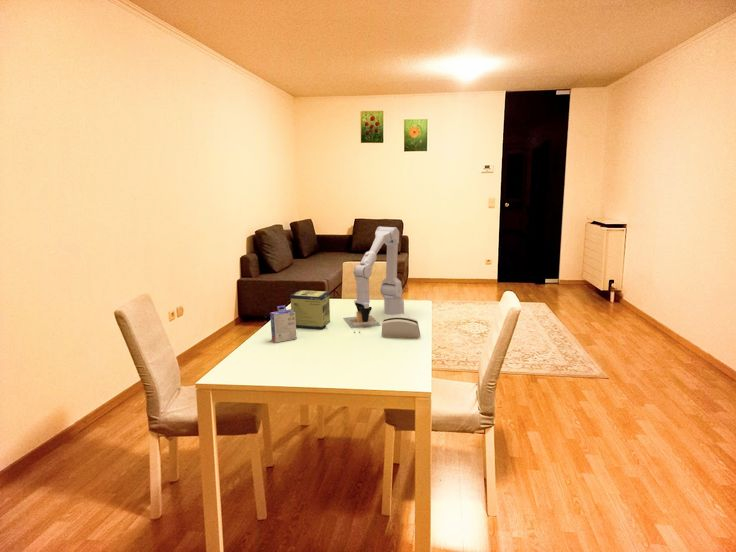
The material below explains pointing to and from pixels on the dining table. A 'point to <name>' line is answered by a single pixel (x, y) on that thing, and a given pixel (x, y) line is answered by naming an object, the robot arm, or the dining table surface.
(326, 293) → the protein box
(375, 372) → the dining table surface
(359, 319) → the module
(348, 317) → the mount board
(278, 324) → the ink cartridge box
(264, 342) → the dining table surface
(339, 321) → the dining table surface
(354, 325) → the rail
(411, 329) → the beige rounded block
